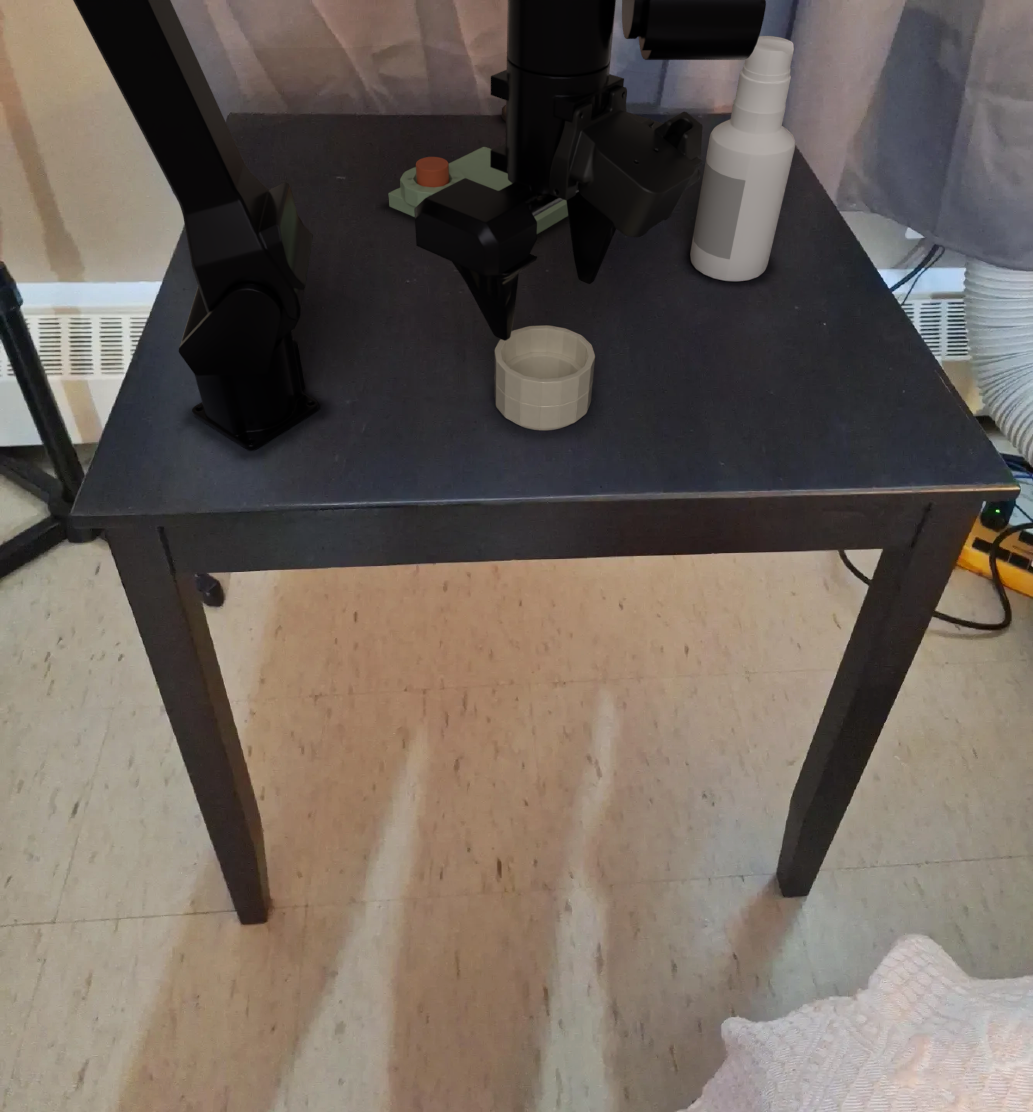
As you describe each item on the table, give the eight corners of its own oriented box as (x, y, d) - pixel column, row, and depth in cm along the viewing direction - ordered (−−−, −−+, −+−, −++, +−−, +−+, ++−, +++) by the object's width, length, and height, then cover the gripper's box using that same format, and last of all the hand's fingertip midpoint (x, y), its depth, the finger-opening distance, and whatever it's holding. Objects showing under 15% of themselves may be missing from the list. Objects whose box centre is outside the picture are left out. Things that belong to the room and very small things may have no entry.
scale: (499, 257, 83) (499, 225, 81) (385, 208, 89) (383, 177, 87) (594, 200, 91) (596, 170, 89) (484, 159, 97) (483, 130, 95)
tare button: (434, 192, 86) (433, 173, 85) (410, 182, 87) (408, 164, 86) (455, 181, 88) (455, 162, 86) (431, 172, 89) (431, 153, 88)
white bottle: (707, 237, 87) (745, 22, 74) (777, 257, 84) (830, 39, 71) (676, 269, 83) (711, 47, 70) (750, 291, 80) (800, 65, 67)
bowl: (551, 447, 65) (554, 394, 62) (475, 408, 68) (474, 355, 65) (607, 401, 69) (613, 349, 66) (533, 366, 72) (536, 314, 69)
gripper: (576, 153, 43) (557, 423, 54) (770, 49, 53) (721, 294, 65) (399, 91, 48) (416, 351, 59) (609, 6, 58) (589, 242, 69)
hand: (545, 308), depth 63 cm, fingers open, 9 cm apart
